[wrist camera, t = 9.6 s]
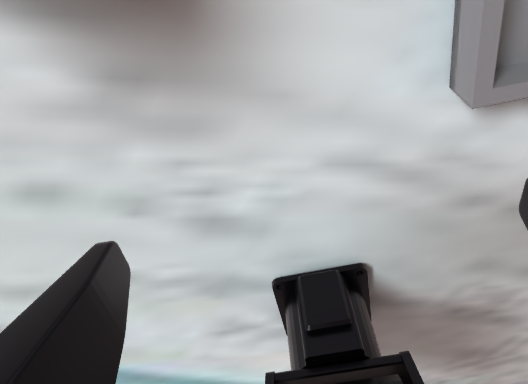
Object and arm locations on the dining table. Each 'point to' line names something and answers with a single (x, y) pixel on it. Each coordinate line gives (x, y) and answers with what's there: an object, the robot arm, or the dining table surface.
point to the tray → (490, 51)
